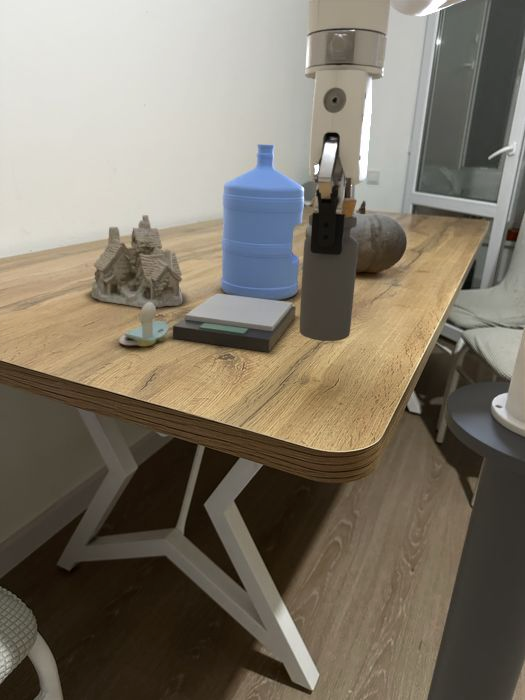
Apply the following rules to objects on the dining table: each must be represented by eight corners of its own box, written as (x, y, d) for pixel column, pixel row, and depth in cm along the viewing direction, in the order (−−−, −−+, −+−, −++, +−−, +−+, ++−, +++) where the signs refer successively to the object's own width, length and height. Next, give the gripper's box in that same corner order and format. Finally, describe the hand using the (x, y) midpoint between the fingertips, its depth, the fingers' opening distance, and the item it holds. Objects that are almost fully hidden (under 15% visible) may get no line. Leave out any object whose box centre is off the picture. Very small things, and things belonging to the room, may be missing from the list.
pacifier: (109, 346, 74) (144, 353, 72) (105, 304, 72) (141, 309, 70) (141, 332, 80) (173, 337, 78) (138, 292, 78) (171, 297, 76)
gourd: (317, 269, 115) (328, 189, 112) (288, 264, 139) (296, 198, 136) (418, 281, 121) (431, 205, 118) (374, 274, 145) (383, 211, 142)
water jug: (245, 306, 96) (251, 143, 86) (207, 286, 108) (209, 142, 98) (312, 297, 104) (325, 147, 94) (270, 279, 116) (277, 145, 106)
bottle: (292, 336, 58) (299, 198, 53) (307, 322, 63) (315, 195, 58) (343, 344, 56) (356, 202, 51) (354, 329, 61) (367, 198, 56)
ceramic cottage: (88, 287, 101) (86, 210, 95) (171, 286, 108) (174, 213, 102) (96, 316, 88) (94, 228, 82) (190, 313, 95) (194, 231, 89)
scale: (294, 317, 91) (296, 302, 90) (268, 352, 75) (269, 334, 74) (214, 307, 94) (214, 292, 93) (172, 338, 78) (172, 320, 77)
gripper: (378, 41, 41) (357, 266, 48) (388, 72, 57) (371, 238, 63) (286, 43, 43) (278, 260, 49) (321, 72, 58) (311, 234, 65)
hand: (330, 246), depth 56 cm, fingers closed on bottle, 5 cm apart
